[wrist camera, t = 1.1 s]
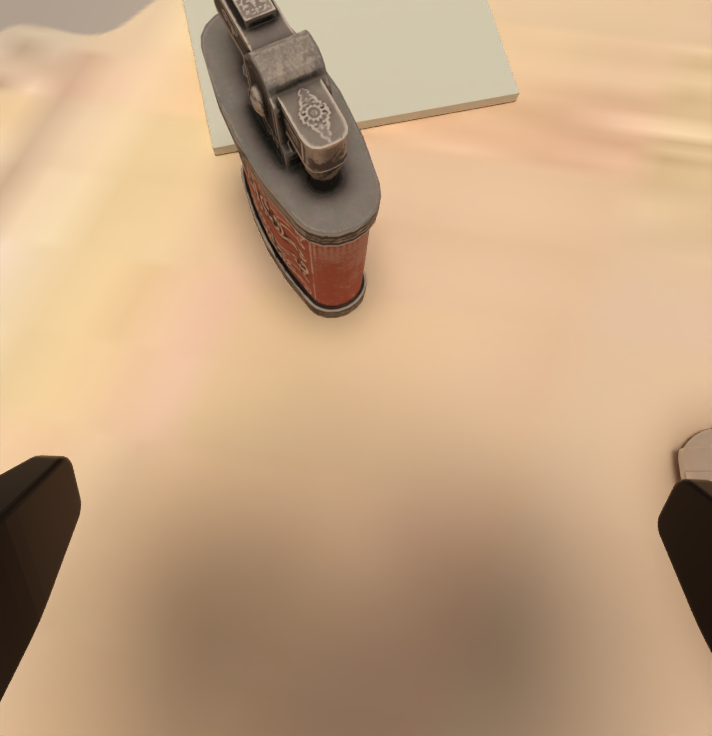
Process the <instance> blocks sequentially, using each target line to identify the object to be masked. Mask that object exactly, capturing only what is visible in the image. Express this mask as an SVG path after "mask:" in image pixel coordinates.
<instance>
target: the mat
mask: <svg viewBox="0 0 712 736" xmlns="http://www.w3.org/2000/svg"><path fill="white" fill-rule="evenodd" d="M275 1H276V3H277V5H278V6H279V8H280V10H281V12H282V13H283V15H284V17H285V18H286V20H287V22H288V23H289V25H290V27H291V28H292V29H293V30H294V31H295V32H296V33H299V32H301V31H303V30H307V31H308V32H309V33H310V34H311V36H312V37H313V39H314V41H315V42H316V44H317V46H318V47H319V50H320V52H321V55H322V57H323V60H324V64H325V68H326V71H327V72H328V74H329V75H330V77H331V78H332V80H333V81H334V82H335V84H336V85H337V87H338V88H339V90H340V91H341V93H342V95H343V97H344V99H345V101H346V103H347V105H348V107H349V109H350V111H351V113H352V115H353V117H354V119H355V121H356V123H357V125H358V127H359V129H363V128H369V127H374V126H380V125H385V124H391V123H396V122H402V121H407V120H413V119H419V118H424V117H430V116H435V115H441V114H446V113H452V112H457V111H463V110H468V109H474V108H479V107H485V106H490V105H496V104H501V103H507V102H512V101H516V99H517V97H518V95H519V90H518V87H517V84H516V82H515V79H514V76H513V73H512V70H511V67H510V64H509V61H508V58H507V55H506V52H505V49H504V47H503V44H502V41H501V38H500V35H499V32H498V29H497V26H496V23H495V20H494V17H493V14H492V11H491V9H490V6H489V3H488V0H275ZM183 2H184V7H185V12H186V17H187V22H188V27H189V32H190V37H191V42H192V47H193V51H194V56H195V61H196V66H197V71H198V76H199V81H200V86H201V91H202V96H203V101H204V106H205V111H206V116H207V121H208V126H209V131H210V136H211V141H212V146H213V149H214V152H215V155H220V154H225V153H231V152H236V151H238V150H237V148H236V146H235V143H234V141H233V139H232V137H231V134H230V132H229V130H228V128H227V125H226V123H225V121H224V119H223V116H222V114H221V112H220V110H219V107H218V103H217V100H216V97H215V94H214V91H213V87H212V84H211V80H210V77H209V74H208V70H207V67H206V63H205V60H204V56H203V53H202V49H201V34H202V32H203V29H204V27H205V25H206V24H207V23H208V22H209V21H210V20H211V18H212V17H213V16H214V15H216V14H218V12H217V9H216V7H215V4H214V0H183Z"/></svg>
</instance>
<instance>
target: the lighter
mask: <svg viewBox="0 0 712 736" xmlns="http://www.w3.org/2000/svg"><path fill="white" fill-rule="evenodd" d="M214 4H215V7H216V9H217V12H218V14H216V15H214V16H213V17H212V18H211V20H210V21H209V22H208V23H207V24H206V25H205V27H204V29H203V32H202V34H201V49H202V53H203V56H204V60H205V63H206V67H207V70H208V74H209V77H210V80H211V84H212V87H213V91H214V94H215V97H216V100H217V103H218V107H219V110H220V112H221V114H222V116H223V119H224V121H225V123H226V125H227V128H228V130H229V132H230V134H231V137H232V139H233V141H234V143H235V146H236V148H237V150H238V152H239V154H240V157H241V161H242V164H243V165H242V168H241V175H242V180H243V184H244V187H245V190H246V194H247V197H248V201H249V204H250V208H251V211H252V214H253V217H254V220H255V222H256V225H257V227H258V229H259V231H260V234H261V236H262V238H263V241H264V243H265V245H266V247H267V250H268V252H269V253H270V255H271V256H272V258H273V260H274V261H275V263H276V264H277V266H278V268H279V269H280V271H281V272H282V274H283V275H284V277H285V279H286V280H287V282H288V283H289V284H290V285H291V287H292V288H293V289H294V290H295V292H296V293H297V294H298V295H299V296H300V298H301V299H302V300H303V301H304V302H305V304H306V305H307V306H308V307H309V309H310V310H312V311H313V312H314V313H315V314H317V315H319V316H322V317H326V318H338V317H341V316H344V315H347V314H349V313H350V312H352V311H353V310H355V309H356V308H357V307H358V305H359V304H360V303H361V301H362V300H363V297H364V293H365V289H366V274H365V271H364V263H365V256H366V249H367V242H368V235H369V229H370V228H371V226H372V225H373V224H374V223H375V220H376V217H377V214H378V210H379V205H380V199H381V191H380V183H379V180H378V177H377V174H376V172H375V169H374V166H373V163H372V160H371V157H370V154H369V151H368V149H367V146H366V143H365V140H364V137H363V135H362V133H361V131H360V129H359V127H358V125H357V123H356V121H355V119H354V117H353V115H352V113H351V111H350V109H349V107H348V105H347V103H346V101H345V99H344V97H343V95H342V93H341V91H340V90H339V88H338V87H337V85H336V84H335V82H334V81H333V80H332V78H331V77H330V75H329V74H328V72H327V71H326V68H325V64H324V60H323V57H322V55H321V52H320V50H319V47H318V46H317V44H316V42H315V41H314V39H313V37H312V36H311V34H310V33H309V32H308V31H307V30H303V31H301V32H299V33H296V32H295V31H294V30H293V29H292V28H291V27H290V25H289V23H288V22H287V20H286V18H285V17H284V15H283V13H282V12H281V10H280V8H279V6H278V5H277V3H276V1H275V0H214Z"/></svg>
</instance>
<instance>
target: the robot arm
mask: <svg viewBox="0 0 712 736" xmlns="http://www.w3.org/2000/svg"><path fill="white" fill-rule="evenodd" d="M80 510H81V499H80V495H79V491H78V486H77V482H76V478H75V474H74V470H73V466H72V463H71V461H70V460H69V459H68V458H66V457H64V456H45V455H40V456H34V457H32V458H30V459H28V460H27V461H25V462H23V463H21V464H19V465H17V466H16V467H14V468H12V469H10V470H8V471H7V472H5V473H3V474H1V475H0V702H1V699H2V697H3V695H4V693H5V691H6V689H7V687H8V685H9V683H10V681H11V679H12V677H13V675H14V673H15V671H16V669H17V667H18V665H19V663H20V661H21V659H22V657H23V655H24V653H25V651H26V649H27V647H28V645H29V643H30V641H31V639H32V637H33V635H34V632H35V630H36V628H37V626H38V624H39V622H40V619H41V617H42V614H43V612H44V609H45V607H46V605H47V602H48V599H49V597H50V594H51V591H52V588H53V586H54V583H55V580H56V578H57V575H58V572H59V570H60V567H61V564H62V561H63V559H64V556H65V553H66V551H67V548H68V545H69V543H70V540H71V537H72V534H73V532H74V529H75V526H76V524H77V521H78V518H79V515H80ZM658 531H659V534H660V537H661V539H662V542H663V544H664V546H665V549H666V551H667V553H668V556H669V558H670V561H671V563H672V565H673V568H674V570H675V573H676V575H677V577H678V580H679V582H680V585H681V587H682V589H683V592H684V594H685V596H686V599H687V601H688V604H689V606H690V608H691V611H692V613H693V615H694V618H695V620H696V622H697V624H698V627H699V629H700V631H701V633H702V635H703V637H704V639H705V641H706V643H707V645H708V647H709V649H710V651H711V653H712V481H710V480H705V479H682V480H679V481H678V482H677V483H676V484H675V485H674V487H673V489H672V491H671V493H670V495H669V497H668V499H667V501H666V503H665V505H664V507H663V509H662V511H661V513H660V515H659V518H658Z"/></svg>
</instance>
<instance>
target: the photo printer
mask: <svg viewBox="0 0 712 736" xmlns="http://www.w3.org/2000/svg"><path fill="white" fill-rule="evenodd" d="M678 462H679V469H680V476H681V480H682V479H705V480H710V481H712V428H711V429H707V430H704V431H702V432H700V433H698V434H696V435H695V436H694V437H692V438H691V439H690V440H689V441H688V442H687V443H686V445H685V446H684V448H681V449H680V450H679V453H678Z"/></svg>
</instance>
